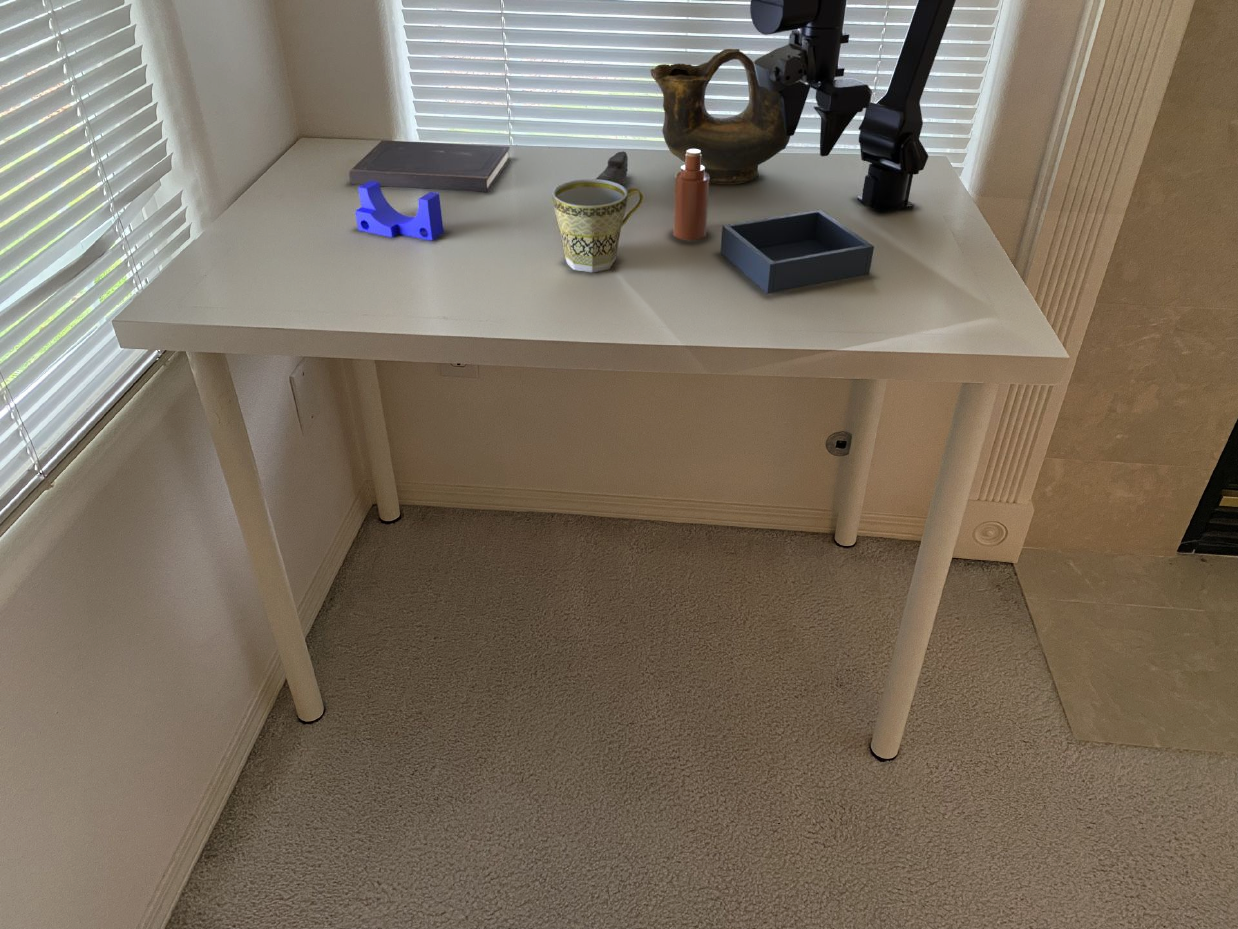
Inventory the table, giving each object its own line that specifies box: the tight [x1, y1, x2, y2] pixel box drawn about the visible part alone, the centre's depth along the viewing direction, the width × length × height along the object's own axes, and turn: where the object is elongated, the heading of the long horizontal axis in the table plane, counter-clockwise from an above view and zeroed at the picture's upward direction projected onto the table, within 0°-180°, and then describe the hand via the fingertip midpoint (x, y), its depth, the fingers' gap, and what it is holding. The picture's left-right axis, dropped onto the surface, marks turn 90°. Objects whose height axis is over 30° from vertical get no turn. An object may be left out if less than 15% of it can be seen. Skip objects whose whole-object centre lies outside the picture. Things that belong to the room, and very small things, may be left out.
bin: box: [720, 209, 875, 295], centre depth 128 cm, size 16×14×4 cm
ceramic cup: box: [551, 178, 644, 273], centre depth 127 cm, size 13×10×10 cm
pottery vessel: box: [650, 48, 791, 185], centre depth 151 cm, size 25×11×20 cm, turn 96°
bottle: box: [672, 149, 710, 241], centre depth 133 cm, size 5×5×12 cm
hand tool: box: [595, 151, 629, 187], centre depth 149 cm, size 19×4×5 cm, turn 159°
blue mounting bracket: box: [354, 181, 445, 242], centre depth 136 cm, size 12×4×6 cm, turn 65°
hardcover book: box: [348, 139, 511, 193], centre depth 157 cm, size 16×23×2 cm
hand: (806, 145), depth 130 cm, fingers open, 9 cm apart
